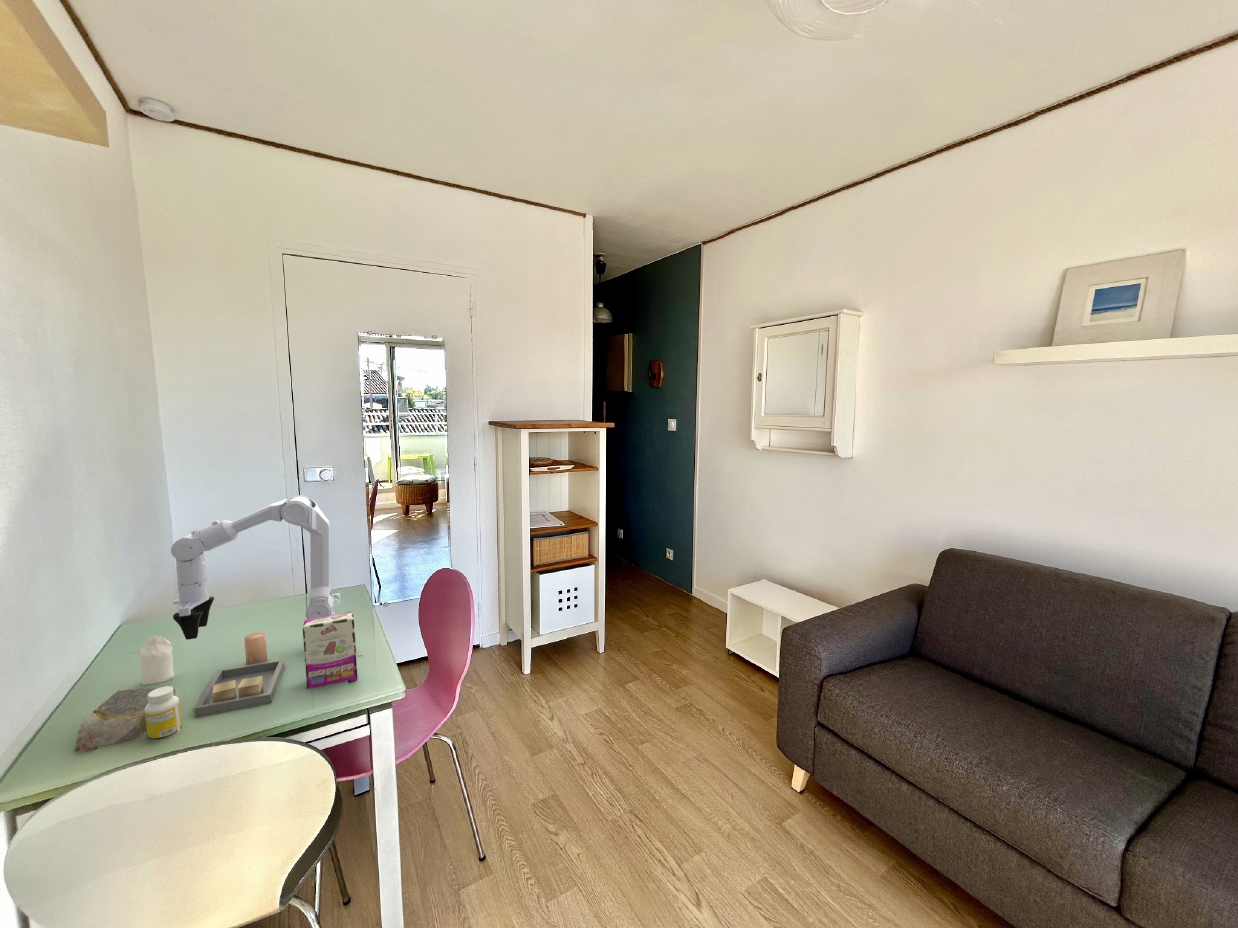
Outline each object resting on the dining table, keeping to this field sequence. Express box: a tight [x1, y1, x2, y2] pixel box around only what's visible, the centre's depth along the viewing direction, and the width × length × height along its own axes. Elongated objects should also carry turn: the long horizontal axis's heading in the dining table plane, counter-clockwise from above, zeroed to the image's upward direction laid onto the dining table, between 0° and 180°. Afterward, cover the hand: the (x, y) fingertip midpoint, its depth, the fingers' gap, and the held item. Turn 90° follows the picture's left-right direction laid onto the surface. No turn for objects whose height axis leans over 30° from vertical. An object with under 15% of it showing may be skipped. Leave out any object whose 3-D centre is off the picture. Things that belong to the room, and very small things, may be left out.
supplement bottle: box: [145, 685, 183, 742], centre depth 106 cm, size 5×5×10 cm
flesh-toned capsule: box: [244, 631, 268, 665], centre depth 135 cm, size 5×5×8 cm
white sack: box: [139, 635, 175, 686], centre depth 127 cm, size 6×12×6 cm
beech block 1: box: [212, 680, 237, 703], centre depth 117 cm, size 4×4×4 cm
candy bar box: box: [302, 611, 359, 690], centre depth 128 cm, size 11×5×16 cm, turn 117°
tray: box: [194, 658, 286, 718], centre depth 123 cm, size 14×18×3 cm
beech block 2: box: [238, 676, 264, 698], centre depth 120 cm, size 4×4×4 cm
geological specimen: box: [74, 686, 176, 752], centre depth 110 cm, size 11×6×15 cm
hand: (196, 632), depth 132 cm, fingers open, 7 cm apart
